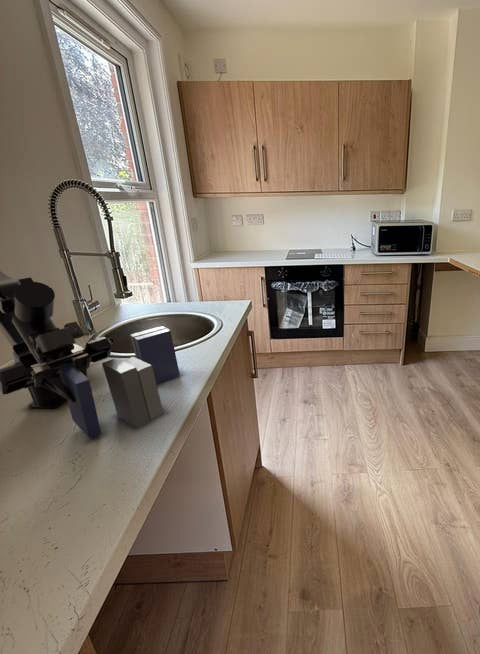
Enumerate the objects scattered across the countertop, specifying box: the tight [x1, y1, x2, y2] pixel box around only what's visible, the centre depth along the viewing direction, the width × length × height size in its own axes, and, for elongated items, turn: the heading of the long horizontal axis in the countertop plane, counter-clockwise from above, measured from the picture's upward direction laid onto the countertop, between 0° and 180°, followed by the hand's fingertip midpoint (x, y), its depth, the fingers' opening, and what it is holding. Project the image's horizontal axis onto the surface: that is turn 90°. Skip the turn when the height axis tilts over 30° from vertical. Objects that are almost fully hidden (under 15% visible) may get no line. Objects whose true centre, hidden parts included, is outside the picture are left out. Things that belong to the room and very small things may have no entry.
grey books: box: [101, 356, 164, 429], centre depth 74 cm, size 8×6×13 cm
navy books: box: [129, 325, 181, 385], centre depth 89 cm, size 8×5×13 cm, turn 135°
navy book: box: [59, 363, 102, 440], centre depth 69 cm, size 8×2×13 cm, turn 53°
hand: (81, 398), depth 68 cm, fingers closed on navy book, 2 cm apart
